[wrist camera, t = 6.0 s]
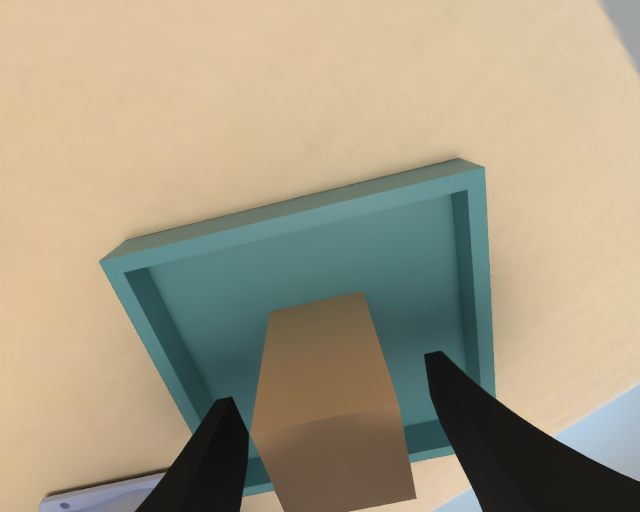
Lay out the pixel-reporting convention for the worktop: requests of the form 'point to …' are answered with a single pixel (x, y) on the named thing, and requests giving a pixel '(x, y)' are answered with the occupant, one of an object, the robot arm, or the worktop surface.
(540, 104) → the worktop surface
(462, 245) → the teal tray
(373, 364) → the tan rectangular block
